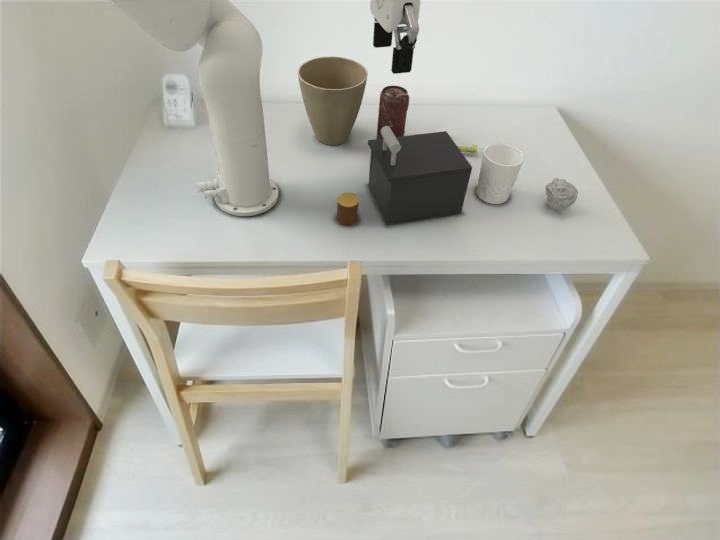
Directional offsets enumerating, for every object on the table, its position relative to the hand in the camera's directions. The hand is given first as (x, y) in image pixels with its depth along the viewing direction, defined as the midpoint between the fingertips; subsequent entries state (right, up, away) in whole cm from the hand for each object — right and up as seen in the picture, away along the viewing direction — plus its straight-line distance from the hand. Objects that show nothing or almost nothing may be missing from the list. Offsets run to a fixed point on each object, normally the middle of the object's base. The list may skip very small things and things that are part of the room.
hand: (391, 58), depth 86 cm
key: (+15, -8, +34) cm, 38 cm away
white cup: (+23, -19, +24) cm, 38 cm away
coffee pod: (-8, -25, +16) cm, 31 cm away
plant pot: (-12, -4, +36) cm, 38 cm away
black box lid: (+6, -13, +14) cm, 20 cm away
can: (+2, -7, +34) cm, 35 cm away
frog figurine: (+35, -22, +22) cm, 47 cm away
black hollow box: (+6, -20, +21) cm, 30 cm away
